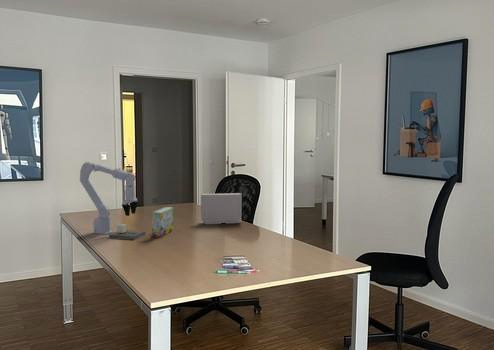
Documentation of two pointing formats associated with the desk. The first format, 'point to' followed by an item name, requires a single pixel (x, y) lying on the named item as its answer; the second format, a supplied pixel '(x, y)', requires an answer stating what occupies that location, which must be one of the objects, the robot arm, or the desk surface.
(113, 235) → the console panel
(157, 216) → the snack box
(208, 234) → the desk surface
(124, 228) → the fader cap
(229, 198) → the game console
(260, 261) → the desk surface
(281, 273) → the desk surface
